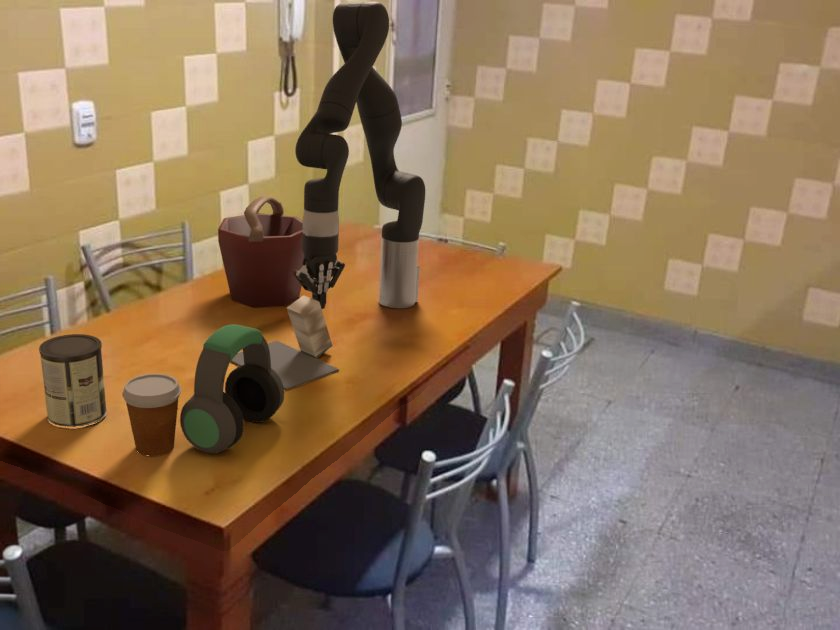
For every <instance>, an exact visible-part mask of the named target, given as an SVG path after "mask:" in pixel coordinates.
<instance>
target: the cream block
mask: <svg viewBox="0 0 840 630" xmlns="http://www.w3.org/2000/svg"><path fill="white" fill-rule="evenodd" d="M286 311H287V314H288V317H289V320H290V323H291V327H292V328H293V332H294V335H295V338H296V342H297V344H298V347H299V351H301V352H303V353H305V354H307V355H310V356H312V357H314V358H316V359H319V358H320V357H321V356H322V355H324V354H325V353H326V352H327V351H328V350H329V349H331V348H332V347H333V342H332V340H331V336H330V333H329V330H328V325H327V323H326V319H325V316H324V313H323V309H321V306H320V302H319V301H316V300H314V299H312V297H308V296H306V295H302V296H301V297H299V298H297V299H296V300H294V301H293V302H291V303H290V305H287V307H286Z"/></svg>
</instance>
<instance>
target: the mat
mask: <svg viewBox="0 0 840 630" xmlns="http://www.w3.org/2000/svg"><path fill="white" fill-rule="evenodd" d="M267 344H268V347H269V351H270V359H271V368H272V369H273V370H274V371H275V372H276V373H277V374H278V375H279V377H280V378H281V381H282V383H283V386H284V391H289V390H292V389H294V388H298V387H299V386H302V385H305V384H307V383H310V382H313V381H316V380H318V379H321V378H323V377H326V376H328V375H331V374H333V373H336V372H339V368H337V367H335V366H333V365H331V364H329V363H327V362H326V361H325V362H324V361H322V360H320V359H319V358H317V359H316V358H314V357H312V356H310V355H307V354H305V353H303V352H301V351H300V349H299V350H298V349H297V348H294V347H292V346H290V345H287V344H285V343H284V342H281V341H280V340H274V341H271V342H267ZM230 363H233V364H234V365H236V366H237V367H239V366H242V365H244V356H243V351H239V352H238V353H237V354H236V355H235V357H234V358H233V359H232V361H231V362H230Z"/></svg>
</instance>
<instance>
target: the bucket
mask: <svg viewBox="0 0 840 630" xmlns="http://www.w3.org/2000/svg"><path fill="white" fill-rule="evenodd" d="M266 203H267V204H269V205H270V206H271V208H272V209H271V210H272V213H263V212H260V210H261V209H262V208H263V206H264V205H265V204H266ZM284 211H285V210H284V207H283V204H282V202H280V201H279V200H277V199H276V198H274V197H268V196H267V197H266V196H260V197H258V198H256V199H254V200H253V201H251V203H249V204H248V205H247V207H245V210H244V212H243V214H241V215H237V216H230V217H229V216H228V217H224V218H223V219H222V221H221V223H220V225H219V227H218V229H217V236H218V237H217V238H218V240H217V241H218V245H219V250H220V251H219V252H220V255H221V259H222V263H223V267H224V272H225V277H226V281H227V286H228V289H229V295H230V299H231V301H233V302H235V303H236V304H237V303H238V304H241V305H244V306H247V307H249V308H253V309H259V308H260V309H261V308H262V309H263V308H281V307H282V308H283V307H286V306H289V304H292V303H294V302H295V301H296V300H298V299H299V298H300V295H301V290H302V288H303V287H302V285H301V284H300V283H299V281H298V280H297V279H296V277H295V276H294V272H295V271H296V270H297V271H299V270H300V269H301V268H302V266H303V264H302V262H303V259H304V253H303V251H302V222H303V219H301V218H299V217H298V216H293V215H292V216H291V215H285V214H284Z"/></svg>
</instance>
